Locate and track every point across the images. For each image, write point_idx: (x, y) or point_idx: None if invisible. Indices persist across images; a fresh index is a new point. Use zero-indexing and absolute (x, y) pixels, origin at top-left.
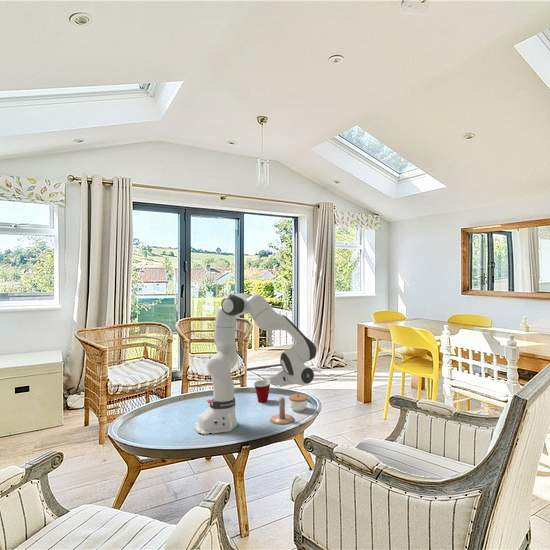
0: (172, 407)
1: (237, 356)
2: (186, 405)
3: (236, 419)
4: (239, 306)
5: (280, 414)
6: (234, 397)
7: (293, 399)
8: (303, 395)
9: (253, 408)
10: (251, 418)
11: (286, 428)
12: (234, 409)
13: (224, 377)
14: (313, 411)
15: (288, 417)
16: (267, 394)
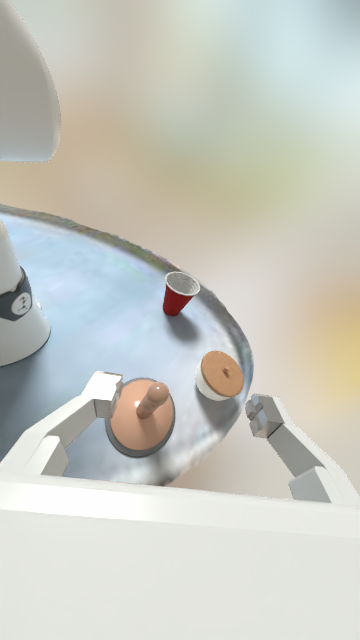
0: (30, 229)
1: (22, 86)
2: (56, 240)
3: (26, 345)
4: None
5: (138, 409)
6: (3, 294)
7: (206, 377)
8: (237, 373)
9: (136, 318)
10: (92, 350)
11: None
12: (4, 326)
13: None
14: (233, 414)
15: (160, 417)
16: (180, 307)
